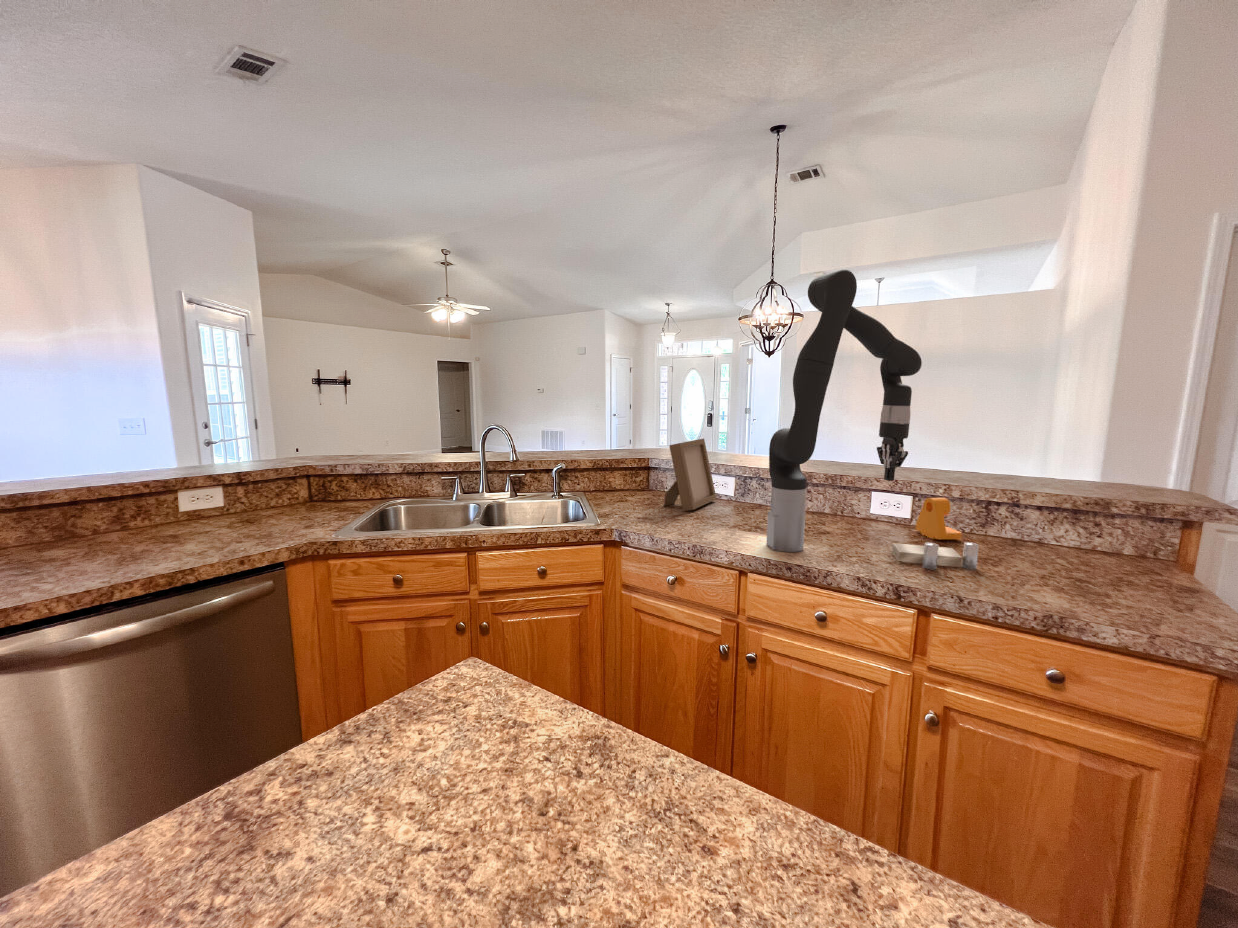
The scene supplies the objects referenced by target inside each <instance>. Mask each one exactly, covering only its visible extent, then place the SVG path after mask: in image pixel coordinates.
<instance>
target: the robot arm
mask: <svg viewBox="0 0 1238 928" xmlns="http://www.w3.org/2000/svg"><path fill="white" fill-rule="evenodd" d="M857 288H858V285H857V277H856V276H855V274H854V273H853V272H852V271H851V270H849V269H838V270H836V271H832V272H831V271H830V272H829V273H825V274H822V275H819V276H817V277H815V278H814V279H813V280H812V281H811V282H810V283H809V285H808V288H807V298H808V300H809V302H810V304H811V305H812V306H813V307H814V308H815V309H816V310H817V311H819V312H820V313H821V315H820V317H819V321H818V323H817V324H816V327H815V329H814V330H813V331H812V333H811V334H810V336H809V337H808V338H807V340H806V342H805V344H804V345H803V346H802V348H801V349H800V352H799V354H798V357H797V359H796V364H795V367H794V371H793V375H792V389H793V390H792V391H793V398H794V412H793V417H792V421H791V424H790V426H789V427H788V428H787V427H785V428H780V429H779V430H777V431H775V432H774V433H773V434H772V436H771V439H770V442H769V448H768V471H769V477H770V479H771V487H770V489H771V490H770V491H771V492H770V493H771V494H770V510H769V511H767V521H766V522H767V524H766V525H767V526H766V527H767V528H766V545H767V546H768V547H769V548H770V549H771V550H772V551H779V552H784V553H785V552H787V553H794V552H795V553H797V552H801V551H803V550H804V545H805V544H804V543H805V527H806V526H805V523H806V508H807V506H806V505H807V487H808V481H807V477H806V476H805V474H804V473H803V471H802V470H801V469H802V468H801V465H803V464H805V463H807V462H808V461H810V459H811V457H813V455H814V452H815V448H816V443H817V437H818V430H819V424H820V420H821V419H820V417H821V414H822V413H821V412H822V410H823V409H822V408H823V405H824V401H825V399H826V398H825V397H826V393H827V388H828V385H829V382H830V379H831V375H832V371H833V368H834V364H835V359H836V355H837V352H838V349H839V345H840V341H841V337H842V334H843V331H844V330H846V332H849V334H851V335H852V336H853V337H854V338H855V339H856V340H857V341H858V342H859V343H860V344H861V345H863V347H864V348H865V349H866V350H867V351H868V352H869V353H870V354H871V355H872V356H874V357H875V358H877V359H881V362H880V367H879V371H880V377H881V382H882V388H883V400H882V408H881V412H880V419H879V420H880V422H879V429H878V430H879V431H878V437H879V438H882V441H881V446H876V451H877V455H878V459H879V461H880V464H881V465H883V468H884V475H883V479H884V481H888V482H894V480H895V476H896V475H895V472H896V469H897V468H900V467H901V466H902V465H903V463H904V461H905V460H906V458H907V457H908V455H909V451H908V450H905V449H904V445H905V444H904V440H906V439H908V438H909V434H910V433H909V431H910V422H911V404H912V403H911V402H912V393H913V391H912V387H911V386H909V385H906V384H904V383H903V381H902V378H901V377H910V376H914V375H916V374H917V373H918V372H920V370H921V368H922V363H923V362H922V358H921V355H920V354H919V352H918V351H916V349H914V348H913V347H911V346H910V345H908V344H907V343H905V342H904V341H902V340H900V339H898V338H896V337H895V335H893V334H892V332H891V331H890V330H889V329H888V328H887V327H886V326H885V325H884V324H883V323H882V322H880V321H879V320H877V319H876V318H874V317H872V315H871V316H870V315H869V314H867V313H865V312H862V311H861V310H859V309H857V308H856V307H854V305H853V304H854V301H855V297H856V295H857V290H858V289H857Z"/></svg>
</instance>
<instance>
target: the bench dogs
mask: <svg viewBox="0 0 1238 928" xmlns="http://www.w3.org/2000/svg"><path fill="white" fill-rule="evenodd" d="M939 545H940V544H938V543H934V542H924V545H923V546H924V555H923V564H922V566H921V567H922V568H924V569H925V568H926V570H932V571H934V570H935V569H936V570H937V569H938V565H937V559H938V548H939V547H940V546H939ZM979 545H980V544H978V543H974V542H968V541H967V542H964V543H963V551H962V565H961V568H964V569H966V570H972V571H974V570H977V567H978V566H977V565H978V556H979V549H980V547H979Z"/></svg>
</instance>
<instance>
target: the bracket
mask: <svg viewBox="0 0 1238 928" xmlns="http://www.w3.org/2000/svg"><path fill="white" fill-rule="evenodd" d="M951 507H952V506H951V503H950V501H949V499H948V498H945V497H927V498H925V499H924V501H923V504H922V506H921V510H920V512H919V515H918V518H917V521H916V524H915V530H916V531H918V532H920V535H921V534H922V535H921V536H924V535H925V536H924V537H926V536H927V537H926V538H928V537H929V538H928V539H930V538H932V539H931V540H961V539H962V532H961V531H959V530H956V529H954V528H951V527H948V526H946V524H945V516H949V514H950V512H951V509H952V508H951Z"/></svg>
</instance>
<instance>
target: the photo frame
mask: <svg viewBox="0 0 1238 928" xmlns="http://www.w3.org/2000/svg"><path fill="white" fill-rule="evenodd" d="M668 446H669V451H670V455H671V461H672V465H673V470H674V475H675V479H676V480H675V481H674V482H673V483H672V485H671V486H670V487H669V488H668V490H667V491H666V492H665V494H664V501H663V504H664V505H663V506H668V505H669V506H670V505H675V503H676V501H677V499H678V498H679V499H680V504H681V509H682V511H683V512H685V511H693V510H696V509H698V508H701V507H703V506H704V505H706V504H709V503H711V502H713V501H715V500H717V494H716V490H715V484H714V481H713V475H712V471H711V465H710V462H709V456H708V450H707V445H706V441H705V438H699V439H694V440H688V441H682V442H679V443H674V444H669V445H668Z"/></svg>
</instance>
